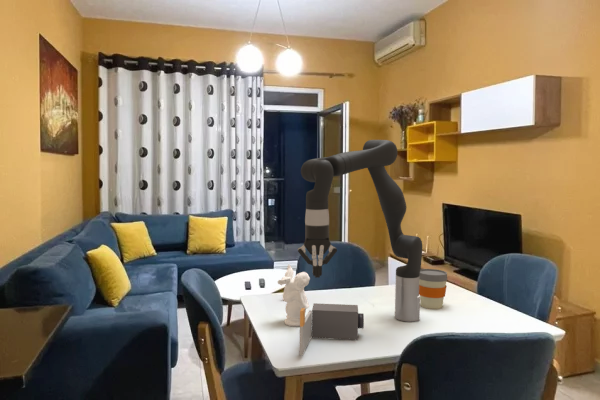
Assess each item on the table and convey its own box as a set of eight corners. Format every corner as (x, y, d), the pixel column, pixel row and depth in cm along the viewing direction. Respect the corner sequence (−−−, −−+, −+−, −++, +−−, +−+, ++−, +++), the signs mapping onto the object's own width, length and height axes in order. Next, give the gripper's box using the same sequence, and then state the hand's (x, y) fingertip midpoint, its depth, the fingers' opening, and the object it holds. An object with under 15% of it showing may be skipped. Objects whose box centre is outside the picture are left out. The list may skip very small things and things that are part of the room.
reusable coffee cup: (414, 308, 195) (415, 273, 194) (418, 300, 206) (419, 267, 205) (445, 311, 190) (446, 276, 189) (447, 303, 202) (448, 270, 201)
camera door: (302, 355, 142) (302, 311, 141) (299, 355, 142) (299, 311, 142) (311, 335, 159) (312, 296, 158) (309, 335, 159) (309, 296, 158)
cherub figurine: (312, 325, 173) (314, 268, 171) (284, 331, 166) (285, 272, 164) (295, 316, 183) (296, 262, 181) (268, 321, 176) (269, 265, 174)
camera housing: (362, 332, 166) (363, 305, 165) (363, 340, 158) (364, 312, 157) (313, 330, 168) (313, 303, 167) (311, 338, 160) (312, 310, 159)
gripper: (296, 225, 139) (297, 280, 141) (339, 224, 140) (339, 279, 142) (295, 221, 147) (296, 274, 148) (336, 221, 148) (336, 273, 149)
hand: (317, 276), depth 145 cm, fingers closed
